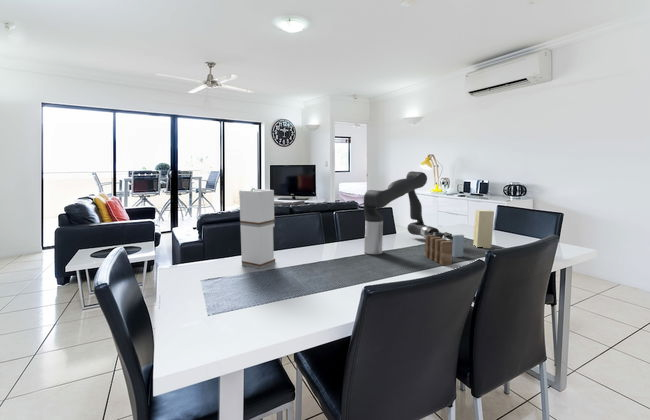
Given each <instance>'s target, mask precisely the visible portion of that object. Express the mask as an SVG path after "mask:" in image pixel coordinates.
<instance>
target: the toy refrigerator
mask: <svg viewBox="0 0 650 420" xmlns="http://www.w3.org/2000/svg"><path fill="white" fill-rule="evenodd" d="M474 214H475V215H474V226H473V227H474V231H473V243H472V244H473V246H474V245H475V246H476V247H475V246H474V247H475V248H477V247H483V248H482V249H492V246H493V245H492V244H493V242H492V241H493V231H494V230H493V229H494V215H495V211H494V210H491V209H475V212H474Z"/></svg>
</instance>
